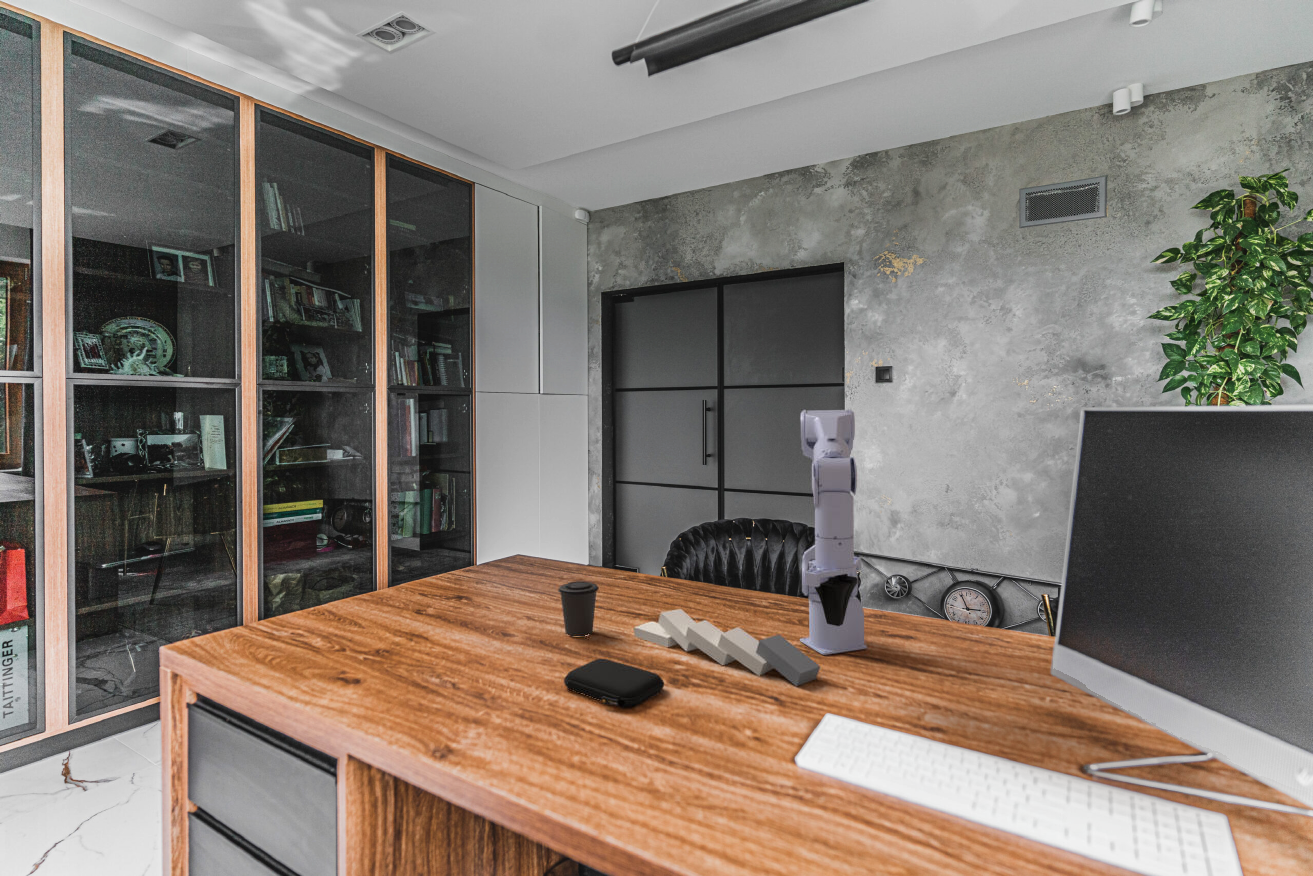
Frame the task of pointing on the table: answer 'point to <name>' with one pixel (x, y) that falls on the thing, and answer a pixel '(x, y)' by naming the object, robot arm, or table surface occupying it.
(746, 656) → the domino
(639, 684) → the carrying case or bag
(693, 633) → the domino
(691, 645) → the domino
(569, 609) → the coffee cup
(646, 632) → the domino
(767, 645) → the domino
